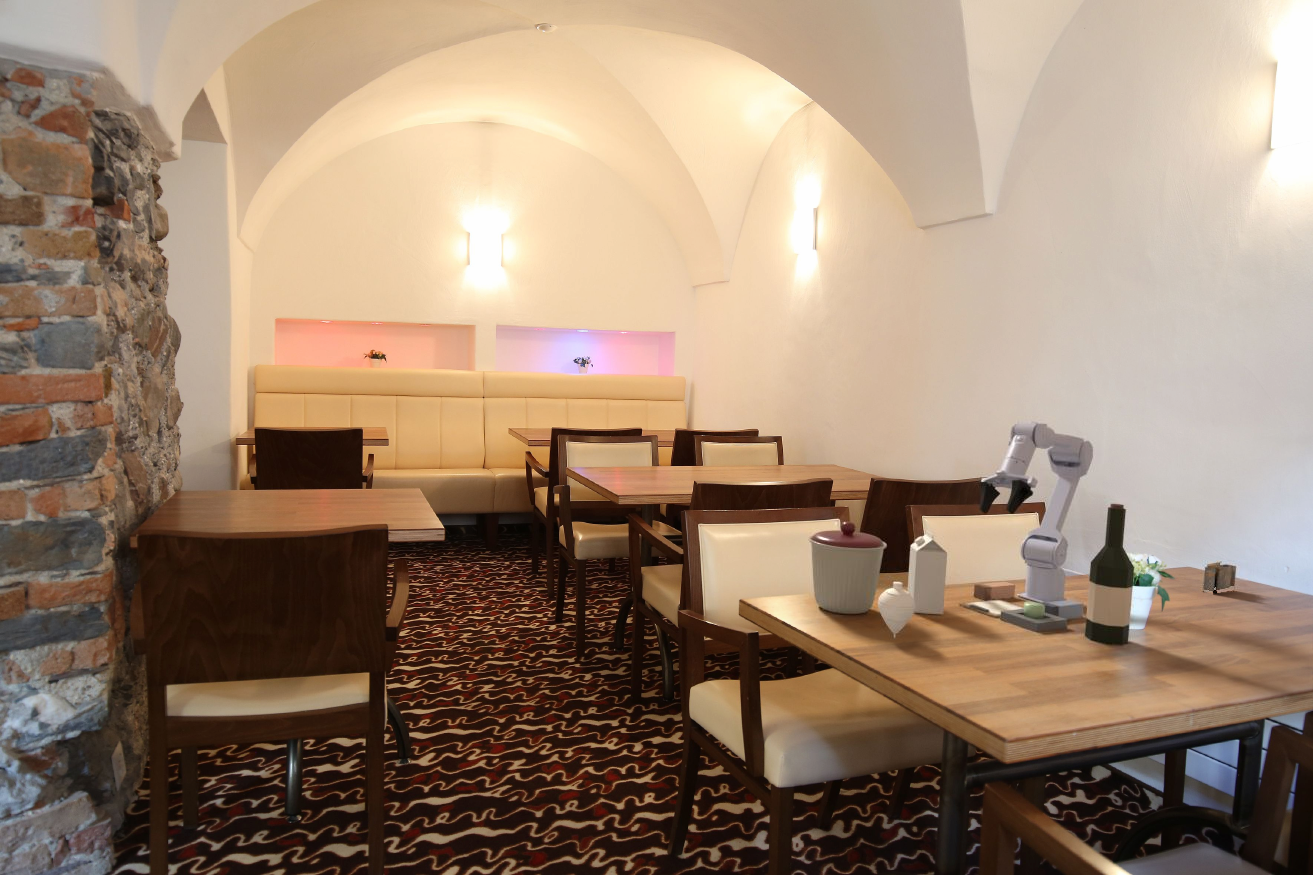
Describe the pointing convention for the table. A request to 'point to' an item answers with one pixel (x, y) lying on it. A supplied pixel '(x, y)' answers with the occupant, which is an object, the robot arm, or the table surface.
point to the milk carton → (927, 575)
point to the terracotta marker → (994, 590)
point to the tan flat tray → (991, 607)
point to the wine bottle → (1110, 585)
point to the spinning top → (896, 607)
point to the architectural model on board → (1219, 576)
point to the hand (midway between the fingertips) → (996, 511)
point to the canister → (846, 569)
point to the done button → (1034, 610)
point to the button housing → (1033, 621)
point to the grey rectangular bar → (1064, 609)
